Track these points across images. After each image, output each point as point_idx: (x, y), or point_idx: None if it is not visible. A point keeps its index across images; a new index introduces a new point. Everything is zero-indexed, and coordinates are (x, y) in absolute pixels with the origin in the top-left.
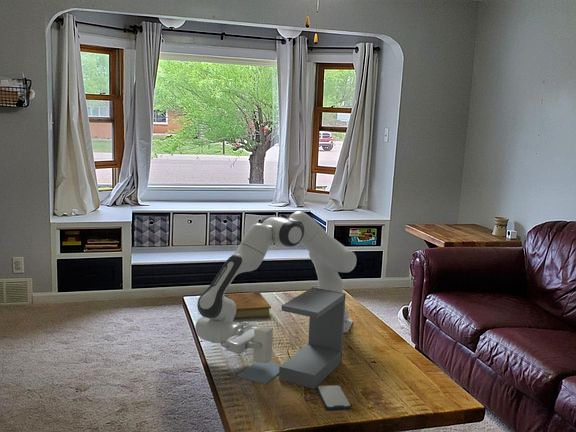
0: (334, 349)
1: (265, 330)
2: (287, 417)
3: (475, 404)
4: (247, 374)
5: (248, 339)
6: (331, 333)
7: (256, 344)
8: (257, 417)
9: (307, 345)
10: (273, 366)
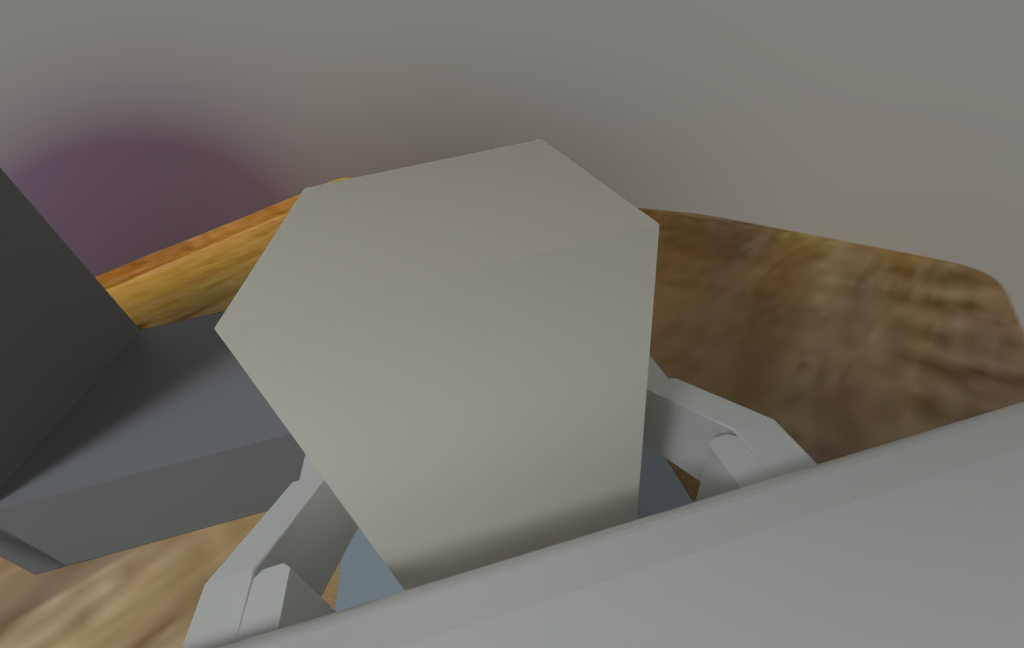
0: (117, 351)
1: (477, 168)
2: (720, 246)
3: (337, 180)
4: None
5: (779, 488)
6: (17, 282)
7: (660, 373)
8: (845, 275)
9: (27, 494)
10: (401, 591)
